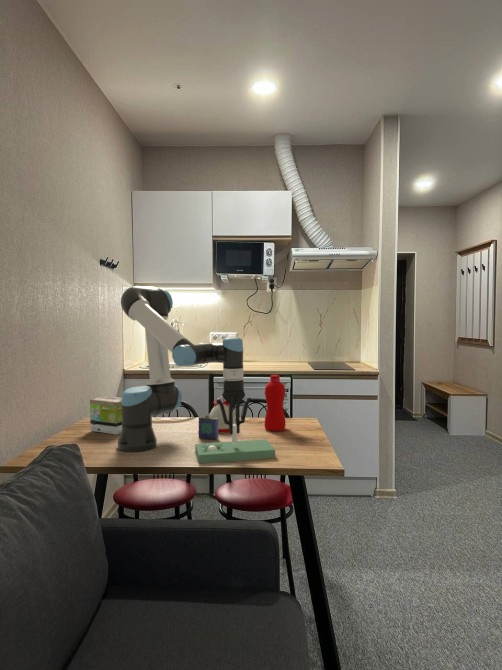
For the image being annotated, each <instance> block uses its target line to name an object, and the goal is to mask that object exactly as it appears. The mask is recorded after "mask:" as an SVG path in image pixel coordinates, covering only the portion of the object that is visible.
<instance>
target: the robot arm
mask: <svg viewBox="0 0 502 670" xmlns="http://www.w3.org/2000/svg"><path fill="white" fill-rule="evenodd" d="M171 295H172V294H171V293H170V292H169V291H168V290H167V289H165V288H162V287H158V286H140V285H133V286H131V287H129V288H127V289H126V290H124V292H123V293H122V294H121V298H120V305H121V306H120V307H121V309H122V310H123V312H124V314H125V315H126V316H127V317H128V318H129V319H131V320H132V321H136V322H138V323H139V324H140V325H141V326H142V327H143V328H144V330H145V339H146V340H145V341H146V349H147V350H146V351H147V352H146V353H147V362H148V370H149V371H148V372H149V381H148V382H147V383H146V385H139V386H133V387H129V388H127V389H125V390H124V391H123V392H122V393H121V398H122V400H121V404H122V430H121V433H120V434H119V437H118V441H117V450H119V451H122V452H129V453H134V452H135V453H136V452H144V451H148V450H152V449H154V448H156V447H157V445H158V443H157V441H158V440H157V436H156V434H155V431H154V428H153V417H157V416H160V415H165V414H166V415H168V414H170V413H173V412H175V411H177V409H179V407H180V405H181V404H182V401H183V400H182V397H183V395H182V391H181V389H180V387H179V386H178V385H176V383H175V381H176V380H175V379H173V378H172V376H171V370H170V369H171V367H170V359H169V352H170V353H171V357H172V358H171V359H172V360H173V363H174V364H175V365H176V366H179V367H190V366H197V365H203V364H209V363H210V364H211V363H213V364H214V363H217V364H218V363H219V364H220V363H221V364H222V368H223V369H222V372H223V374H222V375H223V376H222V377H223V379H224V380H223V383H222V385H223V391H222V394H221V396H219V397H220V398H219V397H218V398H216V399H217V402H218V403H219V405H220V408H221V412H222V416H223V420H224V423H225V424H228V425H229V432H228V433H229V435H231V442H233V443H237V441H238V434H240V432H241V431H240V429H241V428H240V425H241V424H244V423H245V421H246V416H247V412H248V408H249V407H248V406H249V404H250V402H251V400H252V398H251V397H250V396H247V395H246V392H245V391H244V389H245V388H244V387H245V386H244V346H243V345H244V343H243V342H244V341H243V339H242V338H240V337H227V338H226V337H225V338H222V342H221V343H220V342H201V343H193V342H191V341H190V340H189V339H187V338H186V336H184V335H183V334H182V333H181V332H180V331H178V330H177V329H176V328H175V327H174V326H173V325H171V323H170V322H169V321H168V319H169V314H170V312H171V311H172V309H173V304H174V303H173V298H172V296H171ZM223 399H224V401H226V402H227V403H228V408H229V421H228V420H227V417H226V413H225V409H224V405H223V402H224V401H223ZM242 401H244V402H243V405H242V411H241V415H240V406H241V405H240V404H241V403H242ZM217 402H216V403H217ZM233 405H234V406H233ZM233 407H234V409H235V410H234V409H233ZM233 412H234V413H235V414H234V416H235V421H236V424H233Z"/></svg>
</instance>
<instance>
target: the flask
mask: <svg viewBox="0 0 502 670" xmlns="http://www.w3.org/2000/svg"><path fill="white" fill-rule="evenodd" d="M209 415H210V413H206V415H202V416H199V417H198V439H200V440H201V439H202V440H208V441H209V440H211V441H214V440H215V441H218V440H219V433H218V418H210V416H209Z"/></svg>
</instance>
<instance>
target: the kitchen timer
mask: <svg viewBox="0 0 502 670" xmlns="http://www.w3.org/2000/svg"><path fill="white" fill-rule="evenodd" d="M220 397H221V396H219V397H218V398H220ZM215 401H216V403H215V402H214V400H212V402H213V408H212V409H211V411H210V413H209V414H210V415H209V416H210V418H218V434H219V433H220V434H221V433H222V434H224V433H229V425H228V424H225V423H224V420H223V416H222V412H221V408H220V405H219V403H218V402H217V398H216V399H215ZM223 401H224V402H223V405H224V409H225V413H226V417H227V420H228V421H229V408H228V403H227V402H226V400H225V399H223ZM233 424H236V421H235V411H233Z"/></svg>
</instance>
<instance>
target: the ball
mask: <svg viewBox="0 0 502 670" xmlns="http://www.w3.org/2000/svg"><path fill="white" fill-rule="evenodd" d="M207 450H210V451H213V450H217V448H216V447H215V446H213V445H211V446H209V447H208V448H207Z"/></svg>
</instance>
